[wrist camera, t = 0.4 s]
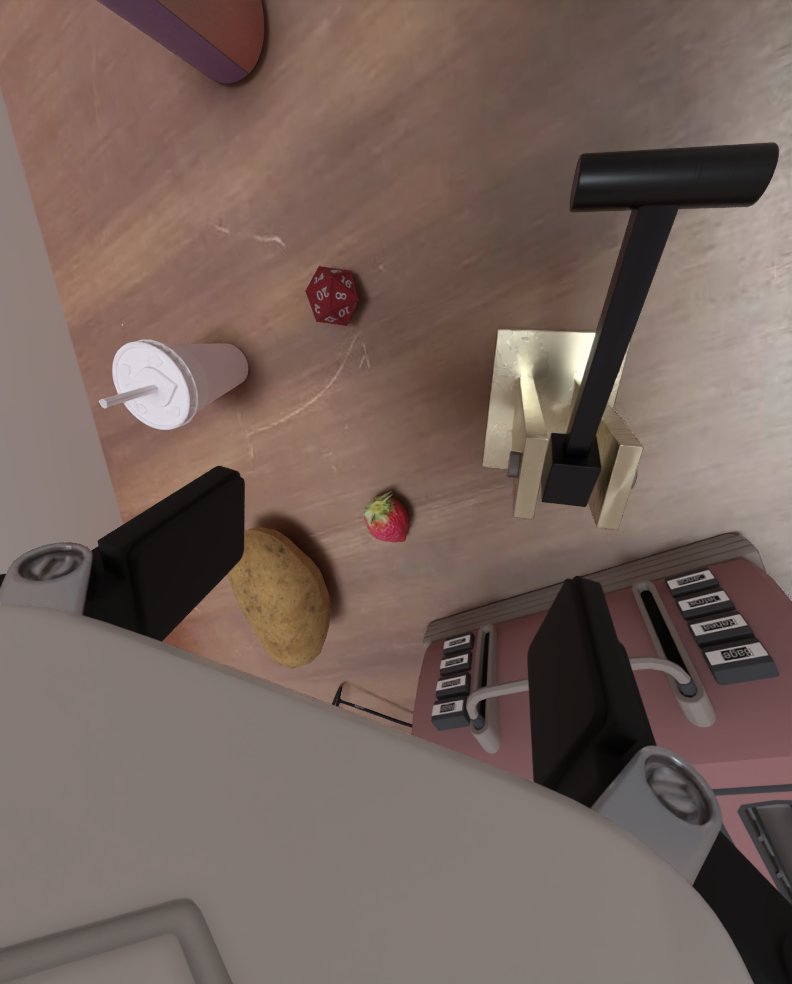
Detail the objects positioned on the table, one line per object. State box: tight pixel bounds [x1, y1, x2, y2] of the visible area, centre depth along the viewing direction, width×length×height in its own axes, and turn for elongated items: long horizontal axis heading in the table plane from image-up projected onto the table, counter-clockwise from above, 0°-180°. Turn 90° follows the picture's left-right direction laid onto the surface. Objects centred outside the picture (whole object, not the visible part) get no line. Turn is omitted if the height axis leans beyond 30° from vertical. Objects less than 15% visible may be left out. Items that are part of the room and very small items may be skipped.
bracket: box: [482, 328, 644, 530], centre depth 26 cm, size 11×9×15 cm
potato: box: [228, 527, 331, 668], centre depth 42 cm, size 9×16×9 cm, turn 20°
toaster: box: [412, 534, 792, 905], centre depth 35 cm, size 30×36×17 cm
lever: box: [541, 142, 779, 507], centre depth 17 cm, size 14×5×2 cm, turn 0°
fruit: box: [364, 490, 410, 542], centre depth 38 cm, size 4×6×5 cm
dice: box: [305, 266, 359, 326], centre depth 30 cm, size 4×4×4 cm
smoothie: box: [100, 340, 248, 430], centre depth 31 cm, size 6×6×14 cm
